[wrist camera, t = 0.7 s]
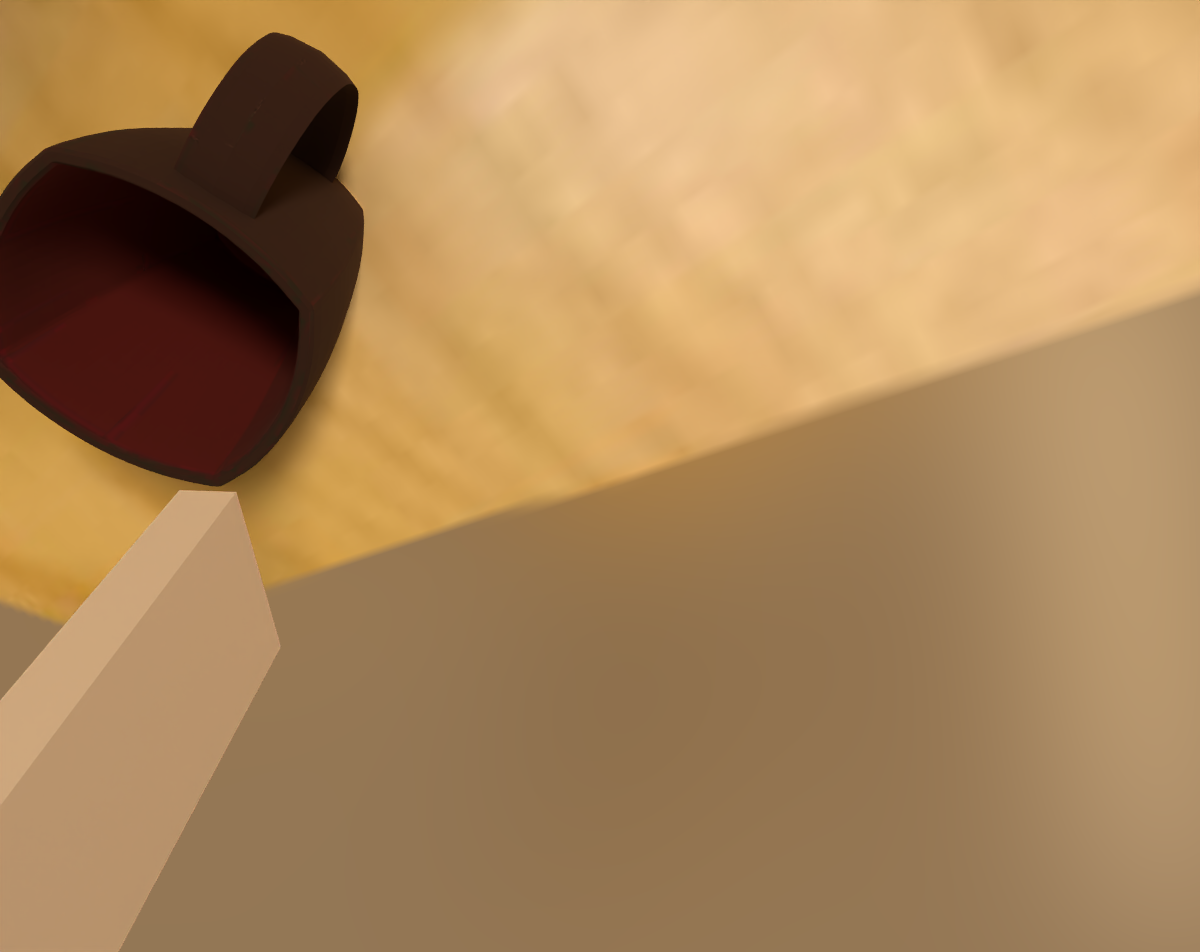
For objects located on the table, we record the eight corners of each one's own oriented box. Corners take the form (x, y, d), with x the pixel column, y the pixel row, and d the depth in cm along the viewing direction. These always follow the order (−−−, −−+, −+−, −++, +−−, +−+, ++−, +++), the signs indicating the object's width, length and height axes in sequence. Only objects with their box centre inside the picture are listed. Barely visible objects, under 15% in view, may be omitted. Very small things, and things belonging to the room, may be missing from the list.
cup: (138, 248, 37) (-58, 369, 27) (258, -63, 31) (57, -56, 21) (344, 371, 40) (234, 523, 30) (496, 108, 33) (420, 189, 23)
